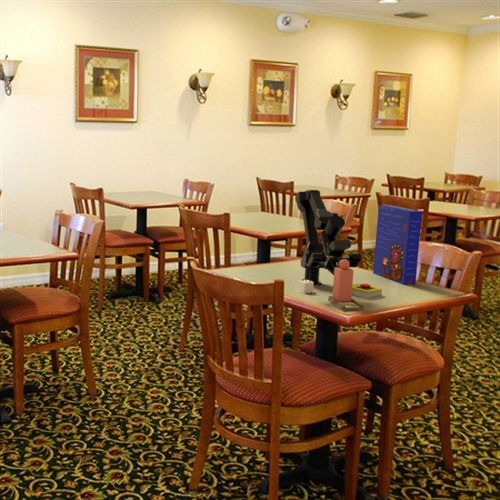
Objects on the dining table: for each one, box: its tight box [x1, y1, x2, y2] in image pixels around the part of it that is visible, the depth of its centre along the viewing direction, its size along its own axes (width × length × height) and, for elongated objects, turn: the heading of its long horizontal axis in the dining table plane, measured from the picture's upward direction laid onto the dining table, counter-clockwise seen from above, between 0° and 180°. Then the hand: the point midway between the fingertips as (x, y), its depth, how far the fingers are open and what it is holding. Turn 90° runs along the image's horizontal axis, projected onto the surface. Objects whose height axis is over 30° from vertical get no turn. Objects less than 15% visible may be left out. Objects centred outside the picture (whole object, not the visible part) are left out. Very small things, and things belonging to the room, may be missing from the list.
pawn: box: [332, 259, 355, 301], centre depth 234 cm, size 5×5×14 cm
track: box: [327, 295, 365, 312], centre depth 232 cm, size 14×8×2 cm, turn 15°
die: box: [297, 279, 315, 294], centre depth 249 cm, size 4×4×4 cm
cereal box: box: [372, 204, 423, 286], centre depth 278 cm, size 22×6×30 cm, turn 23°
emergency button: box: [352, 282, 385, 301], centre depth 250 cm, size 9×4×15 cm
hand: (339, 280), depth 236 cm, fingers closed, pressing on pawn
